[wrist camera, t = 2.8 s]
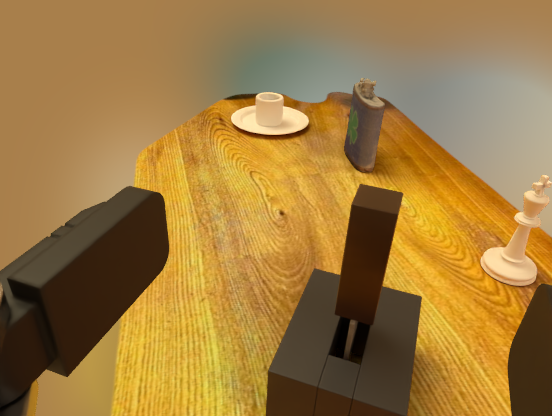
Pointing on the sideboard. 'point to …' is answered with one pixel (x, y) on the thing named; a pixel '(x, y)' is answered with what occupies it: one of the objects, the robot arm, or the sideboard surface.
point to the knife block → (338, 372)
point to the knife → (366, 256)
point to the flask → (364, 126)
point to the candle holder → (269, 116)
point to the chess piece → (518, 242)
